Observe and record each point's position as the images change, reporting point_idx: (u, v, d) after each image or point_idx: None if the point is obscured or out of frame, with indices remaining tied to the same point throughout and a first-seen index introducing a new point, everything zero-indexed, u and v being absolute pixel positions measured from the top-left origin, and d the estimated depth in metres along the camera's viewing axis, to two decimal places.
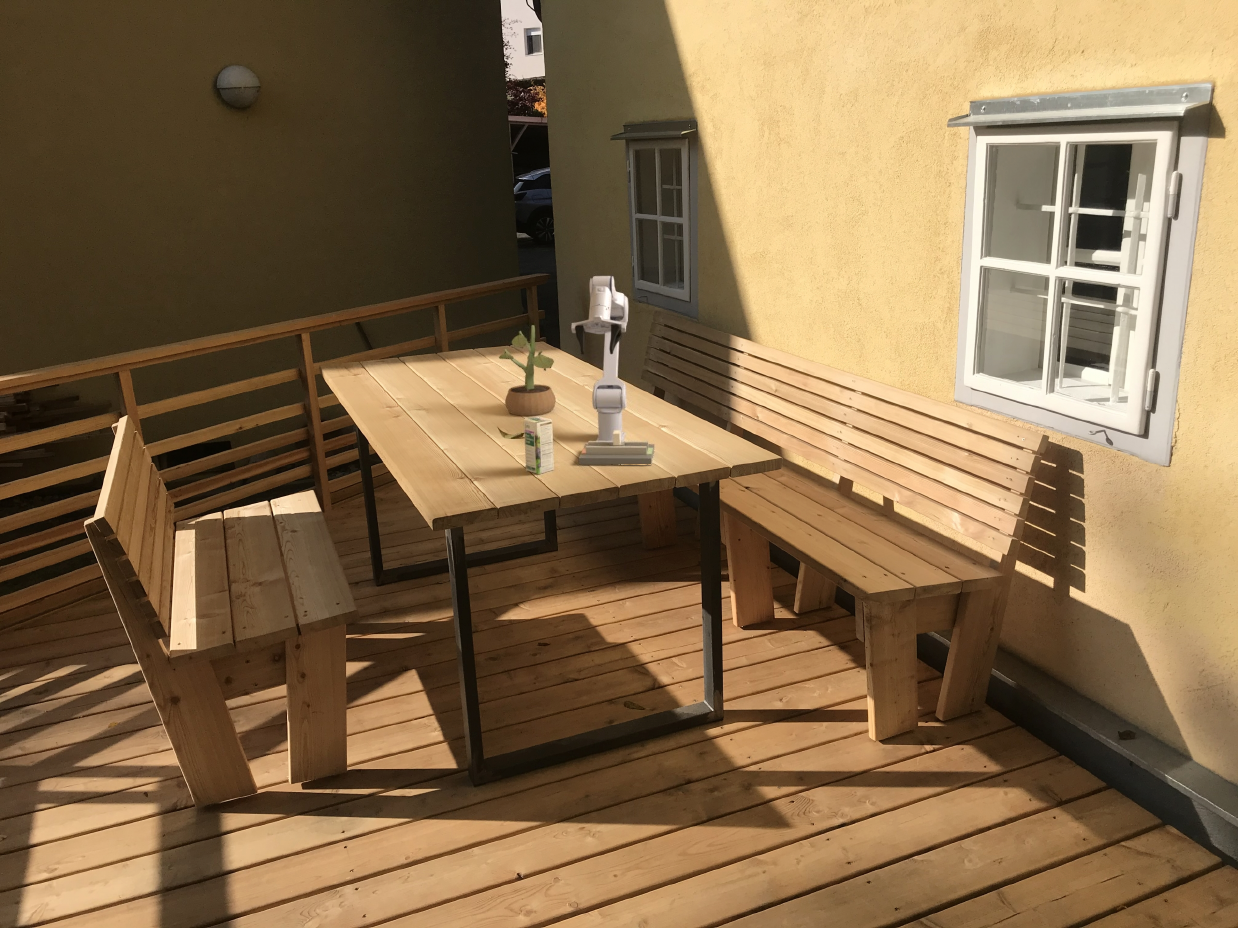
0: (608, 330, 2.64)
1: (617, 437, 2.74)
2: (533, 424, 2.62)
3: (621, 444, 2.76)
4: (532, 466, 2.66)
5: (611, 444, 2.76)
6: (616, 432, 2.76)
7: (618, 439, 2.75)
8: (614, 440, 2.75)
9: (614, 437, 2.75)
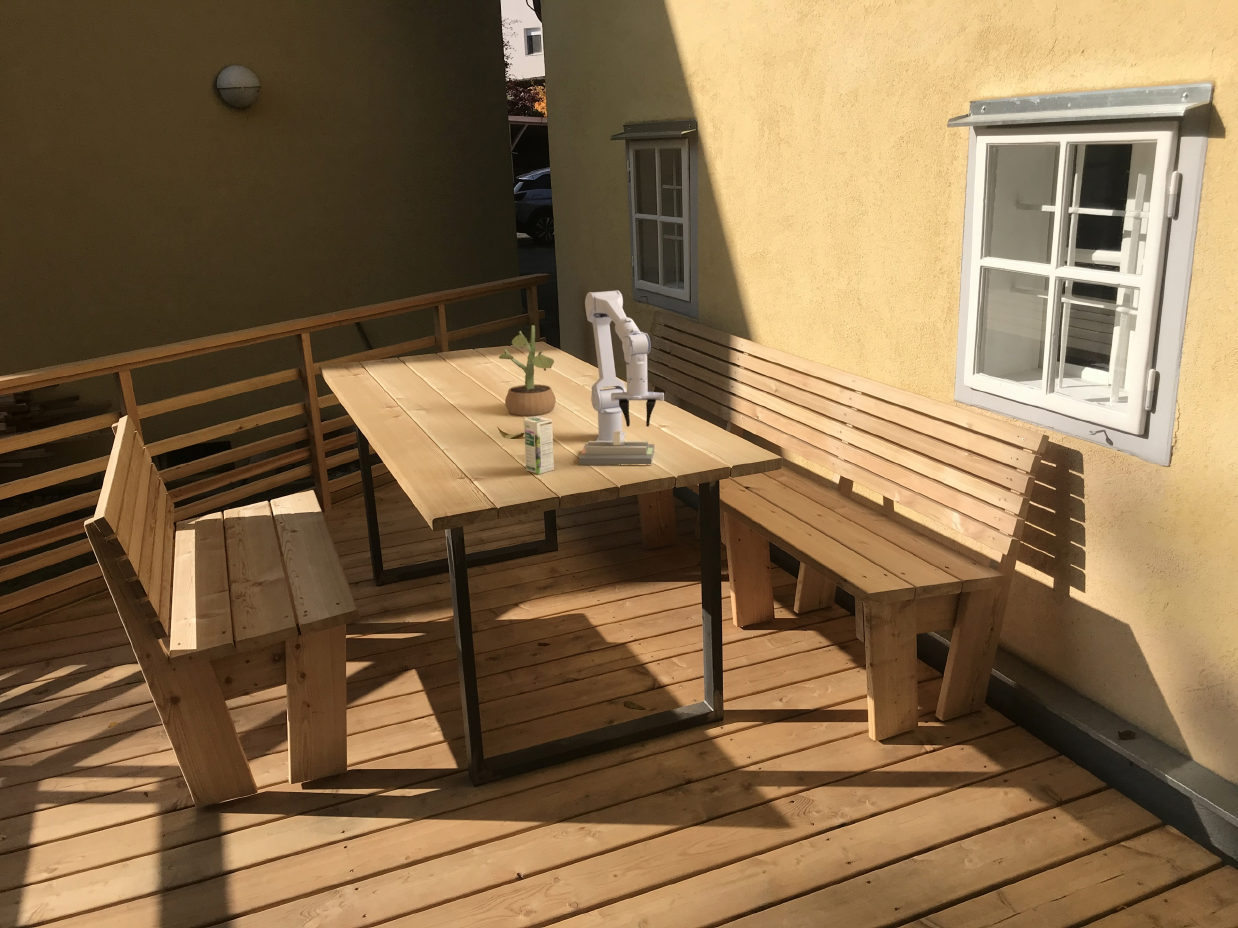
0: (647, 400, 2.72)
1: (617, 437, 2.74)
2: (533, 424, 2.62)
3: (621, 444, 2.76)
4: (532, 466, 2.66)
5: (611, 444, 2.76)
6: (616, 432, 2.76)
7: (618, 439, 2.75)
8: (614, 440, 2.75)
9: (614, 437, 2.75)
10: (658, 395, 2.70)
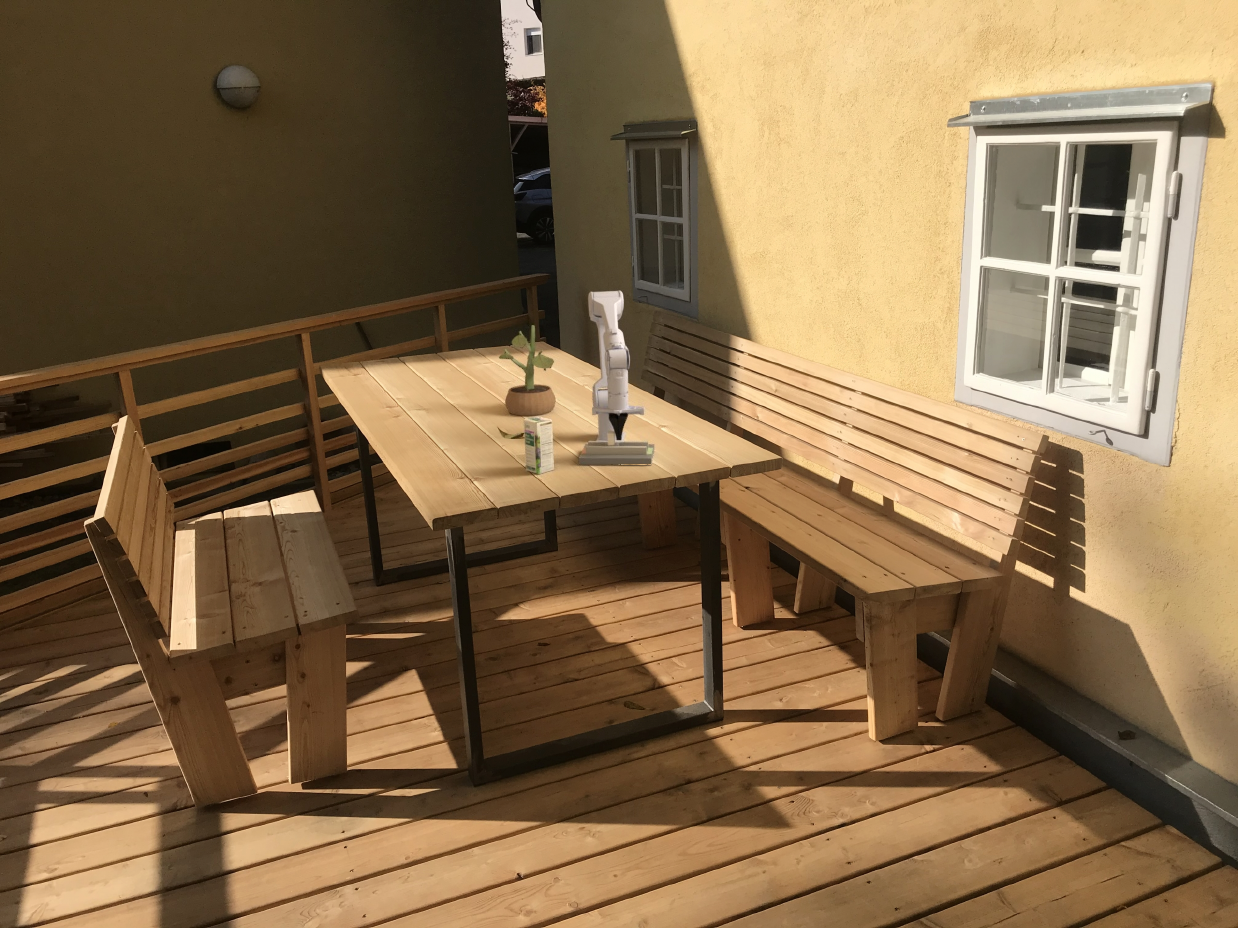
0: None
1: (612, 437, 2.75)
2: (533, 424, 2.62)
3: (616, 444, 2.77)
4: (532, 466, 2.66)
5: (606, 444, 2.77)
6: (610, 432, 2.76)
7: (612, 439, 2.75)
8: (608, 440, 2.75)
9: (608, 437, 2.75)
10: (639, 409, 2.72)
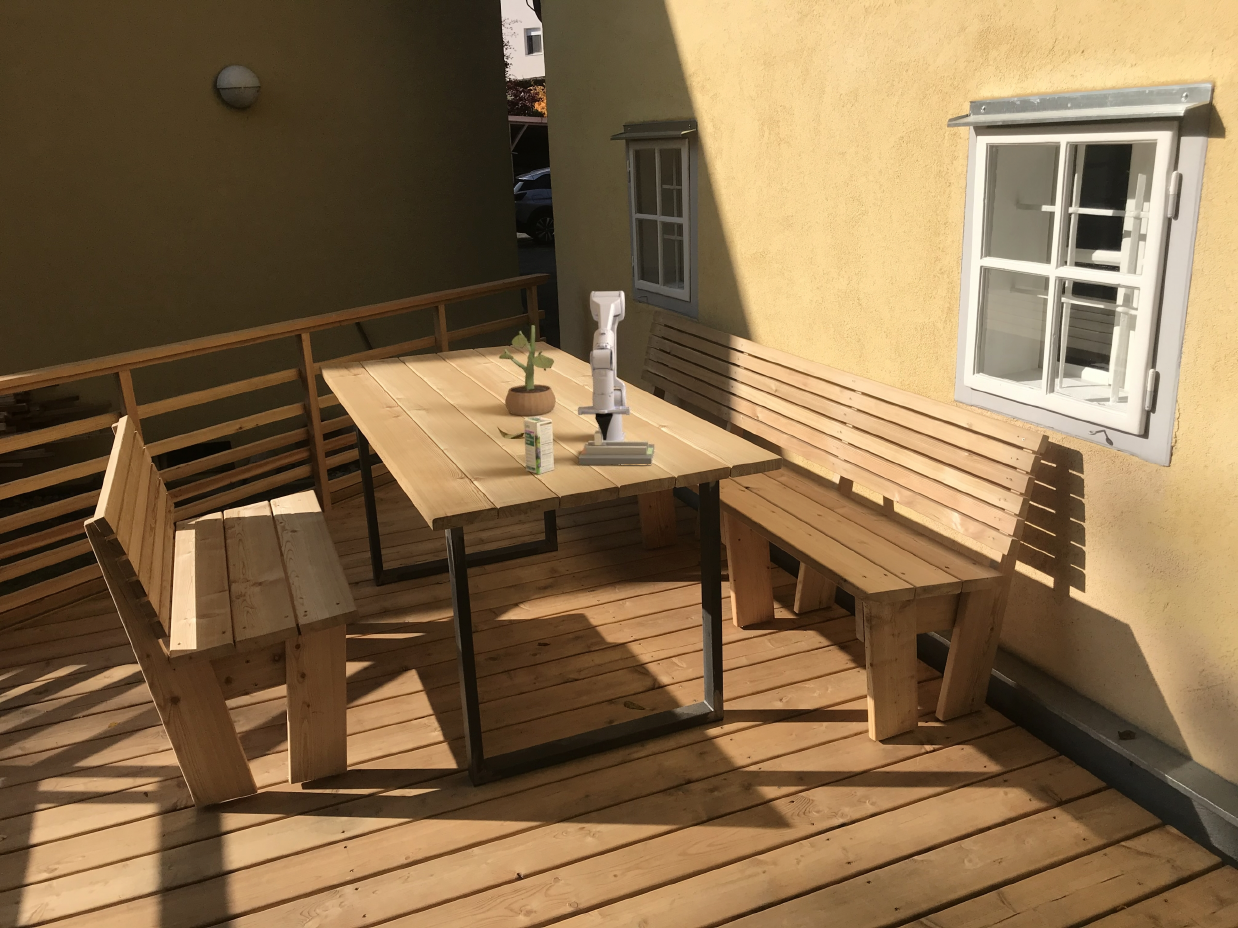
0: (613, 414, 2.74)
1: (599, 437, 2.75)
2: (533, 424, 2.62)
3: (603, 444, 2.77)
4: (532, 466, 2.66)
5: (593, 444, 2.77)
6: (597, 432, 2.76)
7: (599, 439, 2.75)
8: (595, 440, 2.75)
9: (595, 437, 2.75)
10: (624, 409, 2.73)
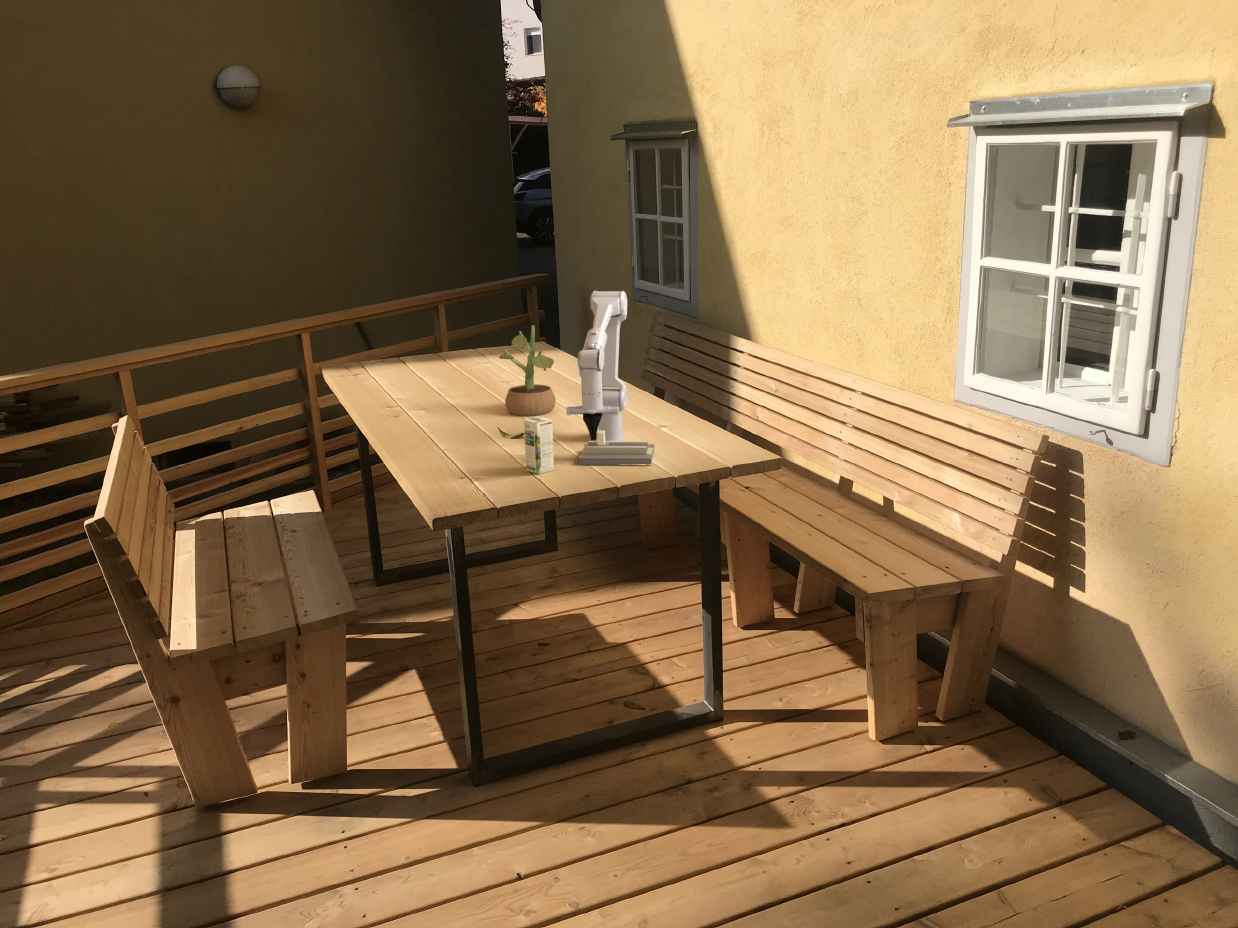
0: (602, 414, 2.75)
1: (602, 437, 2.75)
2: (533, 424, 2.62)
3: (606, 444, 2.77)
4: (532, 466, 2.66)
5: (595, 444, 2.77)
6: (600, 432, 2.76)
7: (602, 439, 2.75)
8: (598, 440, 2.75)
9: (598, 437, 2.75)
10: (613, 409, 2.73)
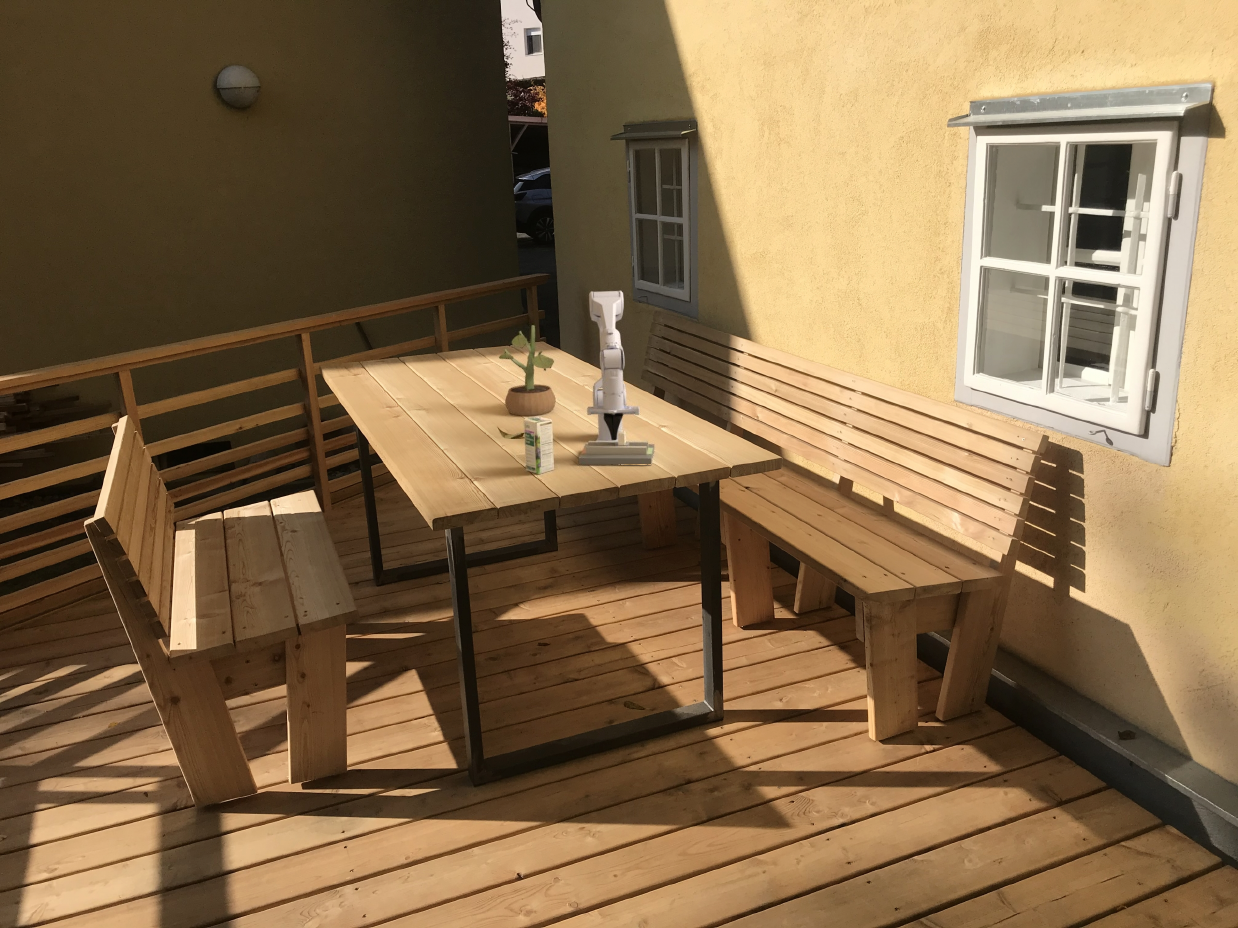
0: (623, 414, 2.74)
1: (622, 437, 2.74)
2: (533, 424, 2.62)
3: (626, 444, 2.76)
4: (532, 466, 2.66)
5: (616, 444, 2.76)
6: (621, 432, 2.75)
7: (623, 439, 2.75)
8: (619, 440, 2.75)
9: (619, 437, 2.74)
10: (634, 409, 2.72)
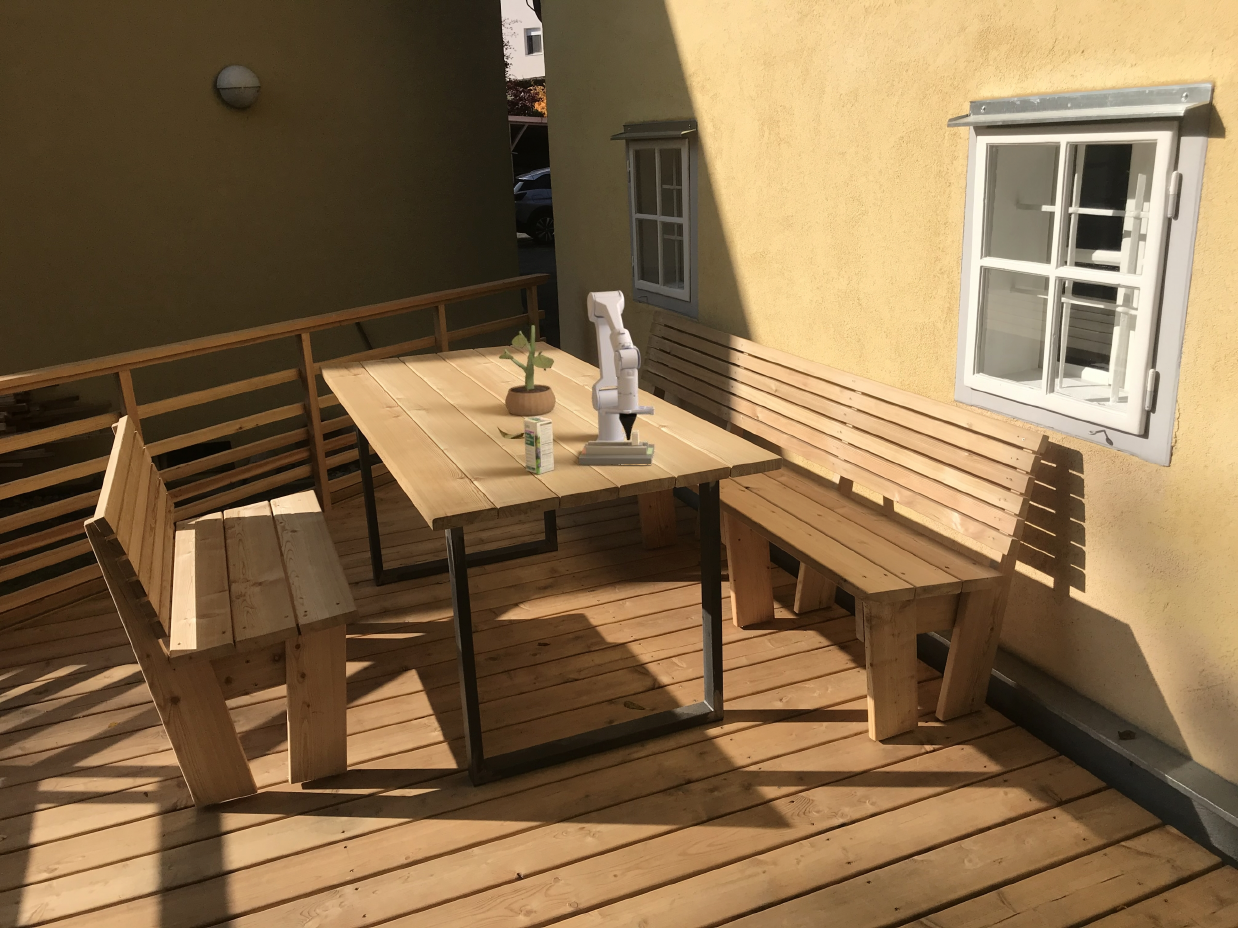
0: None
1: (636, 437, 2.74)
2: (533, 424, 2.62)
3: (640, 444, 2.76)
4: (532, 466, 2.66)
5: (630, 444, 2.76)
6: (634, 432, 2.75)
7: (637, 439, 2.74)
8: (632, 440, 2.74)
9: (633, 437, 2.74)
10: (648, 409, 2.72)
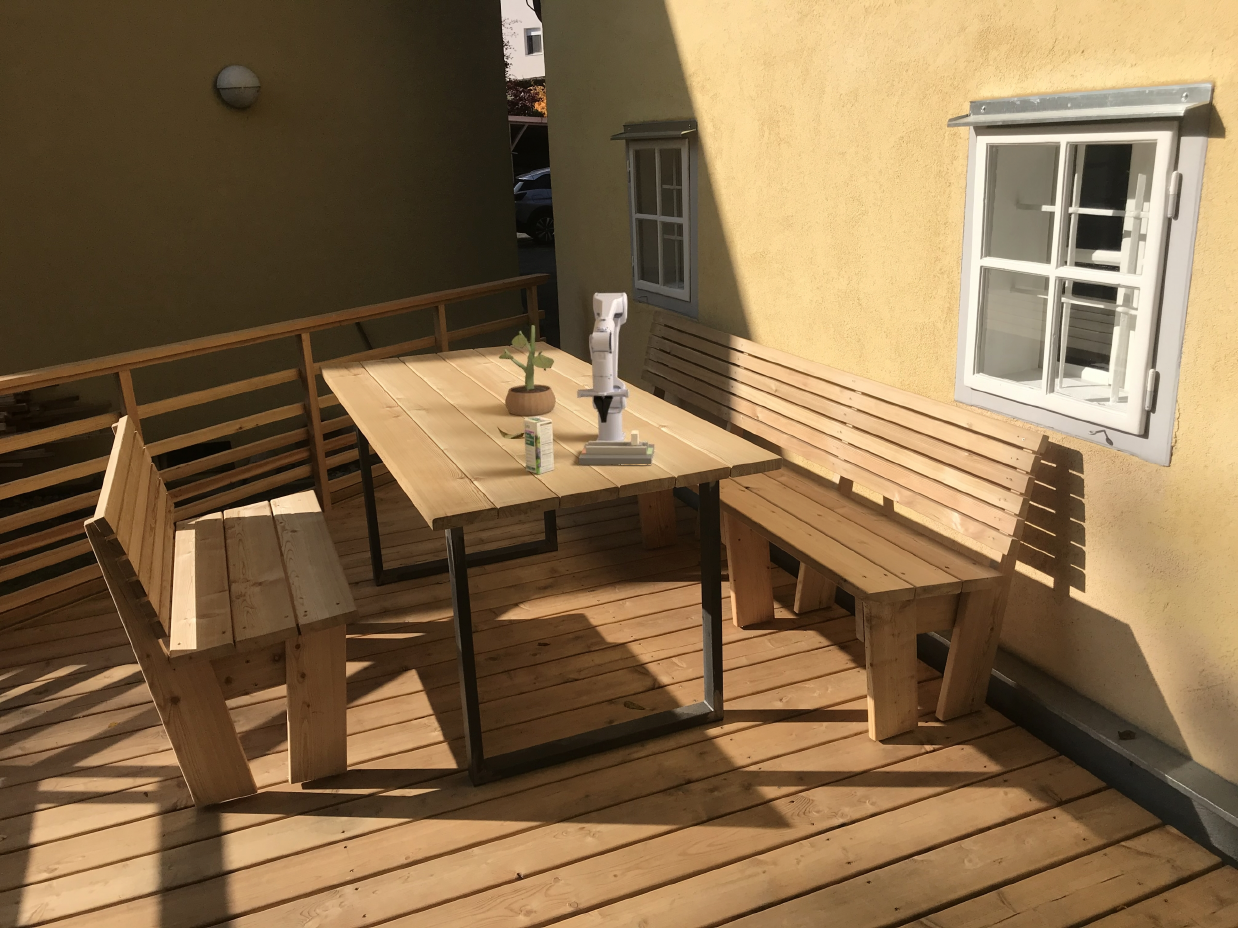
0: (612, 396, 2.77)
1: (636, 437, 2.74)
2: (533, 424, 2.62)
3: (639, 444, 2.76)
4: (532, 466, 2.66)
5: (629, 444, 2.76)
6: (634, 432, 2.75)
7: (636, 439, 2.74)
8: (632, 440, 2.74)
9: (632, 437, 2.74)
10: (623, 392, 2.75)
